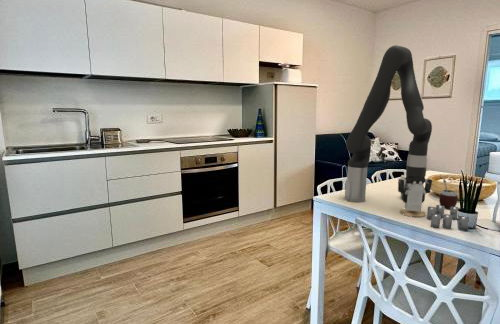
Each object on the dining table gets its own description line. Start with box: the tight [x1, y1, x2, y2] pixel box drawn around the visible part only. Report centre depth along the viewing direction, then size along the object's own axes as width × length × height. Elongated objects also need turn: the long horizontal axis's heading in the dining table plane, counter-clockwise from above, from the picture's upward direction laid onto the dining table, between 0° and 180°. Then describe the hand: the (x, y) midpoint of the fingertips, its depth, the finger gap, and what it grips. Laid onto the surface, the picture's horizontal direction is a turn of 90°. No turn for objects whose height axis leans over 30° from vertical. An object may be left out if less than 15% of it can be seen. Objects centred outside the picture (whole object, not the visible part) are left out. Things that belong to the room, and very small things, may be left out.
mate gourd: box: [439, 174, 458, 211], centre depth 146 cm, size 8×8×15 cm
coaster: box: [399, 208, 426, 218], centre depth 138 cm, size 10×10×1 cm
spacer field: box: [426, 204, 478, 232], centre depth 126 cm, size 20×17×5 cm
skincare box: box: [403, 183, 424, 211], centre depth 137 cm, size 6×4×12 cm
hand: (413, 202), depth 137 cm, fingers closed on skincare box, 6 cm apart
